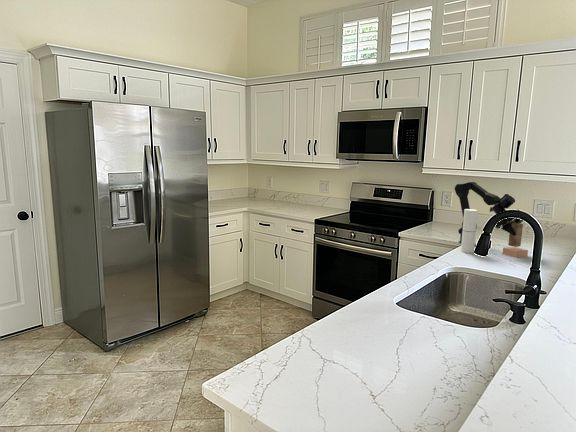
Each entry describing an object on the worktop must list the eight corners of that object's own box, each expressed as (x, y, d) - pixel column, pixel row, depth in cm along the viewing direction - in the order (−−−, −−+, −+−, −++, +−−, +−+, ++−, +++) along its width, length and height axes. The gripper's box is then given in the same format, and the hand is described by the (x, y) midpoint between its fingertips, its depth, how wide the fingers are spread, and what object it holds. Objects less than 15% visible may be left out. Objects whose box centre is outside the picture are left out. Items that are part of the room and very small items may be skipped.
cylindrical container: (460, 251, 239) (463, 210, 235) (461, 249, 245) (464, 208, 241) (473, 253, 235) (477, 211, 232) (474, 251, 242) (478, 209, 238)
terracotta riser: (502, 254, 236) (502, 247, 236) (513, 253, 239) (514, 246, 239) (515, 257, 228) (516, 251, 227) (527, 256, 231) (528, 250, 230)
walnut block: (508, 245, 234) (510, 223, 232) (512, 244, 236) (515, 222, 234) (515, 246, 230) (518, 224, 228) (520, 246, 232) (523, 224, 230)
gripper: (501, 205, 228) (518, 228, 221) (521, 204, 237) (538, 225, 230) (487, 217, 236) (503, 239, 229) (507, 215, 245) (523, 236, 238)
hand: (517, 235), depth 231 cm, fingers closed on walnut block, 4 cm apart
